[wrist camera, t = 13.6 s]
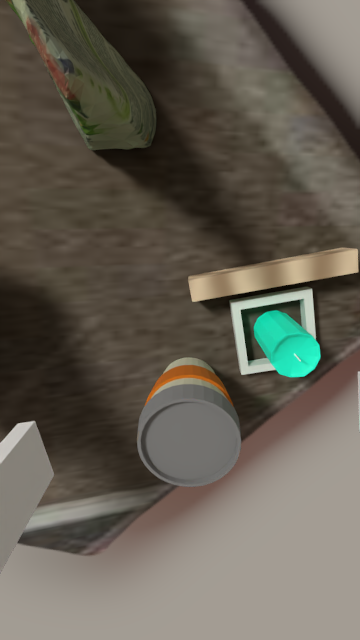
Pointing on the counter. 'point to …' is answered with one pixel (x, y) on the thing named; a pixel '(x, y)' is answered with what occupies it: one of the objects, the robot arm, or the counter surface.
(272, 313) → the candle
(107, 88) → the pouch
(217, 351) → the counter surface
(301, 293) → the frame
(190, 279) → the edge strip
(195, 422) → the reusable coffee cup
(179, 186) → the counter surface
